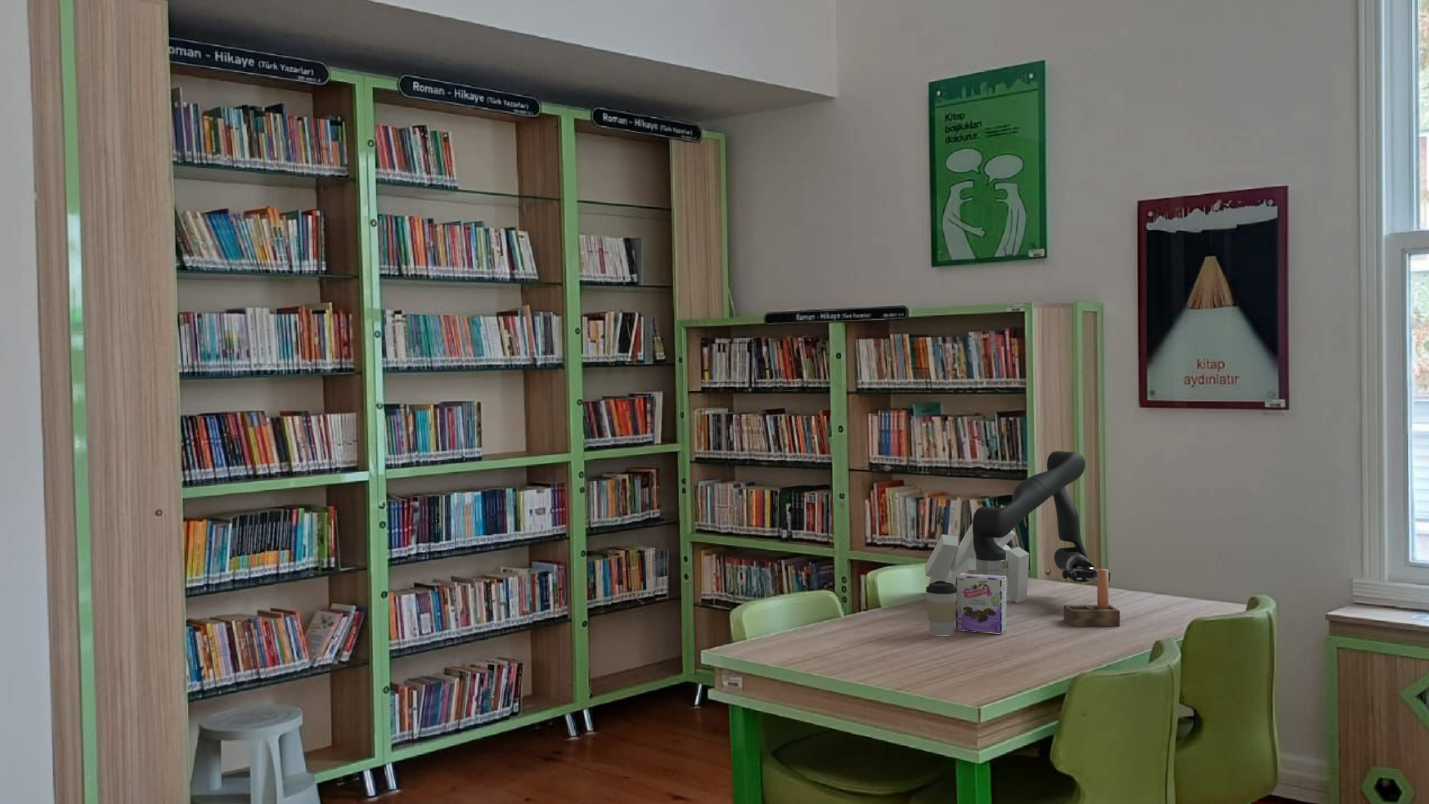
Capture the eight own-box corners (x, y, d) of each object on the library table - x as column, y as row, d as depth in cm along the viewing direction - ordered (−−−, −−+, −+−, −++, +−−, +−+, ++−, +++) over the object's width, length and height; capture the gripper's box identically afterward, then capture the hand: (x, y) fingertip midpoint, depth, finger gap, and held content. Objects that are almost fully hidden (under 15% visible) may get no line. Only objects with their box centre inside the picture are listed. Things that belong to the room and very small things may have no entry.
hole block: (1072, 626, 372) (1072, 611, 372) (1063, 619, 382) (1063, 605, 382) (1119, 626, 371) (1119, 610, 371) (1110, 619, 381) (1110, 604, 381)
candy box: (955, 631, 367) (954, 575, 367) (960, 627, 372) (960, 572, 372) (1001, 635, 361) (1001, 578, 360) (1007, 631, 366) (1006, 575, 365)
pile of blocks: (904, 617, 414) (922, 531, 397) (930, 570, 439) (948, 487, 422) (1008, 653, 403) (1031, 565, 386) (1028, 603, 427) (1050, 518, 410)
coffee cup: (960, 637, 358) (959, 585, 358) (928, 637, 358) (928, 585, 358) (954, 630, 367) (954, 579, 367) (923, 631, 367) (923, 580, 367)
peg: (1099, 623, 375) (1098, 570, 375) (1096, 621, 378) (1095, 568, 378) (1109, 623, 375) (1109, 570, 374) (1106, 621, 378) (1106, 568, 378)
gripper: (1058, 555, 403) (1067, 566, 387) (1103, 558, 402) (1114, 568, 386) (1056, 578, 404) (1065, 589, 388) (1102, 581, 403) (1112, 592, 387)
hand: (1090, 579), depth 387 cm, fingers open, 8 cm apart
